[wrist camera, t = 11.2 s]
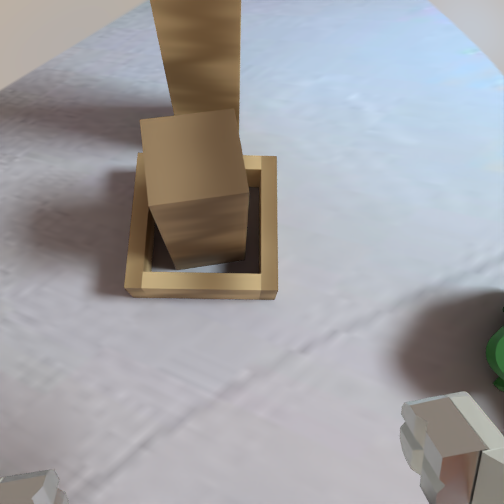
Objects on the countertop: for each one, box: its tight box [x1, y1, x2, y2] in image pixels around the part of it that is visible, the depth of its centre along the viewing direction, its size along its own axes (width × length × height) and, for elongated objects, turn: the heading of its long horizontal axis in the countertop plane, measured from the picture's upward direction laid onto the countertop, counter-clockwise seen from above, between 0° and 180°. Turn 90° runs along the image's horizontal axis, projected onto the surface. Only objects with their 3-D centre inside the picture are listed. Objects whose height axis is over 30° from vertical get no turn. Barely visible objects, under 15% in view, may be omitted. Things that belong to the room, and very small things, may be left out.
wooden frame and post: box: [124, 0, 278, 300], centre depth 22 cm, size 9×15×19 cm, turn 0°
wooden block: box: [140, 109, 250, 270], centre depth 25 cm, size 4×4×10 cm
